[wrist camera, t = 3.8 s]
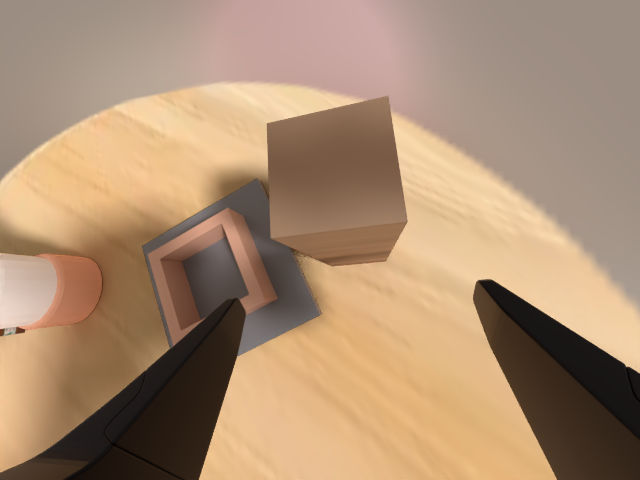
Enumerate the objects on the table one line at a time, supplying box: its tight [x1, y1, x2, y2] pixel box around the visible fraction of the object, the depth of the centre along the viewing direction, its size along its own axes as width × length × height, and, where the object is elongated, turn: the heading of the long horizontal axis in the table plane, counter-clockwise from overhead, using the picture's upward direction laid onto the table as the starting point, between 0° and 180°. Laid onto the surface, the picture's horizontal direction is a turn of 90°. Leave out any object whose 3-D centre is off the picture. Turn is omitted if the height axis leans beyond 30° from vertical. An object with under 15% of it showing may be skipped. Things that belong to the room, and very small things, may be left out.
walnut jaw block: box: [267, 96, 408, 266], centre depth 14 cm, size 4×4×13 cm
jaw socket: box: [142, 179, 322, 356], centre depth 21 cm, size 14×14×3 cm
